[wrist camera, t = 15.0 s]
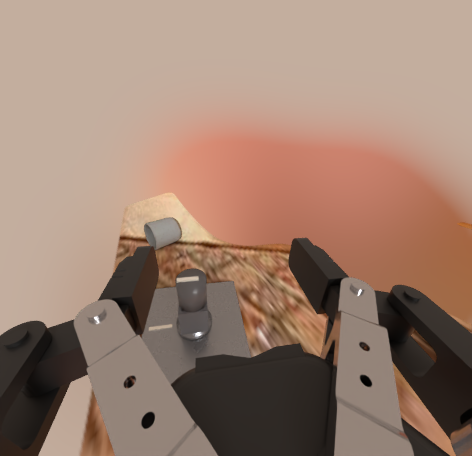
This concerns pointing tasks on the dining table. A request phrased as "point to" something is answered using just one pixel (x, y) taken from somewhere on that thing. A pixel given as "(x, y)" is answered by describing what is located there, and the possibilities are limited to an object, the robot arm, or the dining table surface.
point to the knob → (192, 301)
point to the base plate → (195, 344)
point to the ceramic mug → (162, 232)
